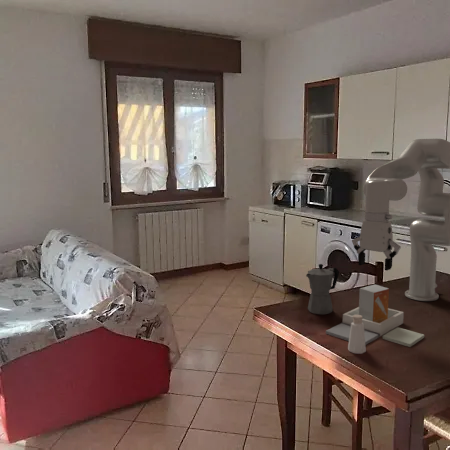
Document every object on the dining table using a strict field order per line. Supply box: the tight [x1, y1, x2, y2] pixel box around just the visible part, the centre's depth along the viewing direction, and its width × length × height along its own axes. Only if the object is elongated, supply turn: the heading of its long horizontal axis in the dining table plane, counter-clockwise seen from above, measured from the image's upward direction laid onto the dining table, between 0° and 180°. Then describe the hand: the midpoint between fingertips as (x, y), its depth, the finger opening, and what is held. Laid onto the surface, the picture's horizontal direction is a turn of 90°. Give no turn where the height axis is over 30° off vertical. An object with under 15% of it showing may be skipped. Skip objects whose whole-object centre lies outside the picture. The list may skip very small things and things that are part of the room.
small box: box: [358, 284, 390, 323], centre depth 163 cm, size 8×6×13 cm
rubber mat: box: [382, 326, 425, 348], centre depth 152 cm, size 10×9×1 cm
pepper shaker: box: [347, 315, 367, 355], centre depth 143 cm, size 5×5×11 cm
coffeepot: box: [305, 263, 340, 315], centre depth 178 cm, size 15×9×18 cm, turn 119°
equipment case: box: [325, 306, 405, 346], centre depth 160 cm, size 26×14×4 cm, turn 133°
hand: (374, 267), depth 160 cm, fingers open, 9 cm apart
